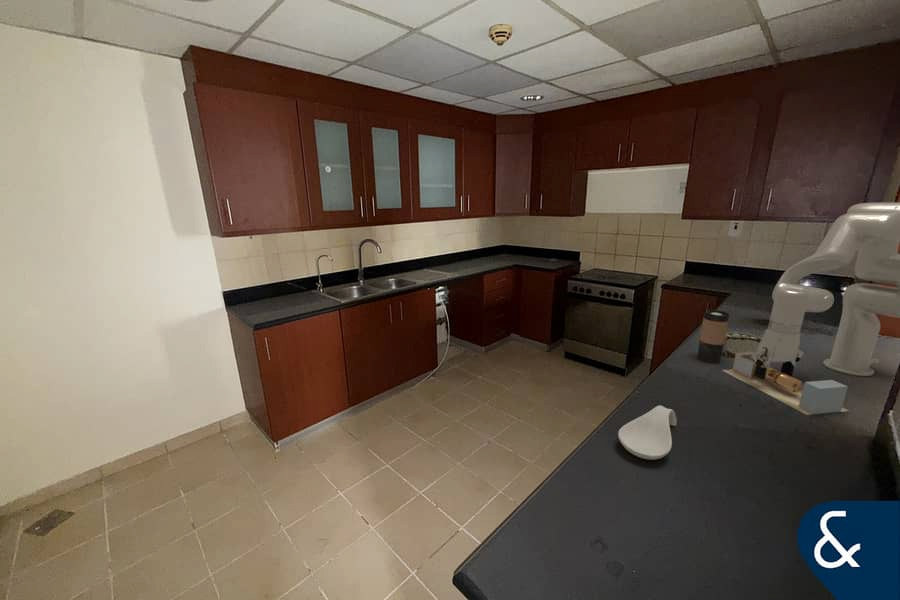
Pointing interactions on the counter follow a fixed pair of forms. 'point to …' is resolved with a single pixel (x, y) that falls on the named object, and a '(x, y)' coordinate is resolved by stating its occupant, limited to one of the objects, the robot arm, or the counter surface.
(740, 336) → the food container
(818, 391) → the socket
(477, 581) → the counter surface
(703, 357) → the travel mug
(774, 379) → the tube
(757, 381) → the board
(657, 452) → the spoon rest
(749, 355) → the sleeve
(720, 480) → the counter surface
